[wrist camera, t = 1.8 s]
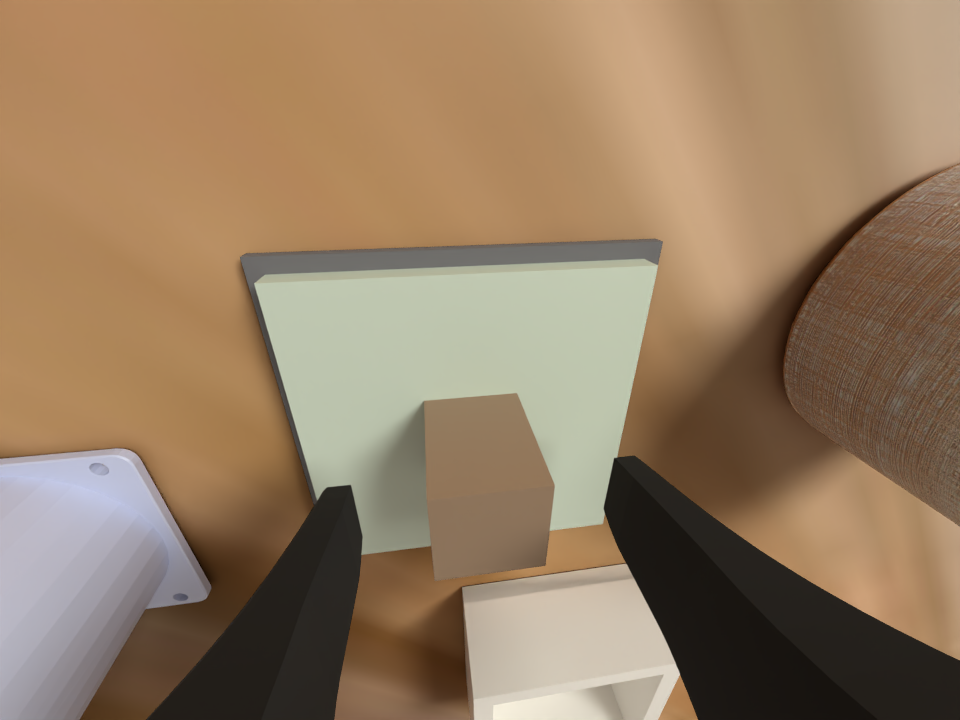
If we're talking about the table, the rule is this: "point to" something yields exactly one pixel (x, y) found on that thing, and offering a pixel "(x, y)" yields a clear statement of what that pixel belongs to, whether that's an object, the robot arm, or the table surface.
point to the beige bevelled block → (565, 649)
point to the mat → (426, 258)
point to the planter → (889, 345)
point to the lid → (462, 398)
